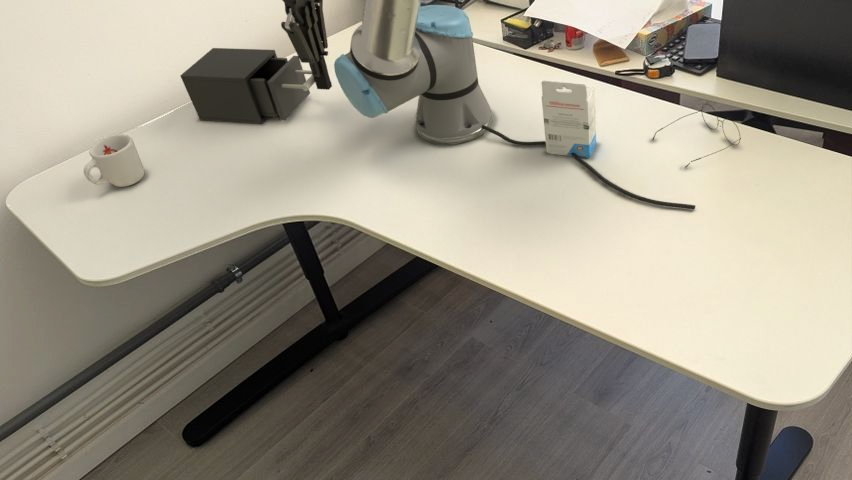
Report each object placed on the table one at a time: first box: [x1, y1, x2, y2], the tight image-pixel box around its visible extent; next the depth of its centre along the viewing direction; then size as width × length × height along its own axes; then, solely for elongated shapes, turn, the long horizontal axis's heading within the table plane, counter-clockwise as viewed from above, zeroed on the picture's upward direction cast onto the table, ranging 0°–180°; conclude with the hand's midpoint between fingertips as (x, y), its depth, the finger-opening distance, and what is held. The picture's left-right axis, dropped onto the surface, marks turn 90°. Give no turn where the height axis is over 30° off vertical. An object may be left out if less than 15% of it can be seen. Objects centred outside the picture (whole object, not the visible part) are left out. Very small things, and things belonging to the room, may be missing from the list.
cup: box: [83, 133, 145, 188], centre depth 140 cm, size 11×8×8 cm
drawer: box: [248, 55, 316, 121], centre depth 154 cm, size 21×11×9 cm, turn 74°
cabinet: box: [180, 47, 278, 125], centre depth 157 cm, size 16×13×11 cm
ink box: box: [541, 80, 597, 159], centre depth 129 cm, size 9×5×15 cm, turn 68°
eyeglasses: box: [651, 103, 742, 169], centre depth 129 cm, size 11×13×5 cm
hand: (324, 87), depth 151 cm, fingers closed
